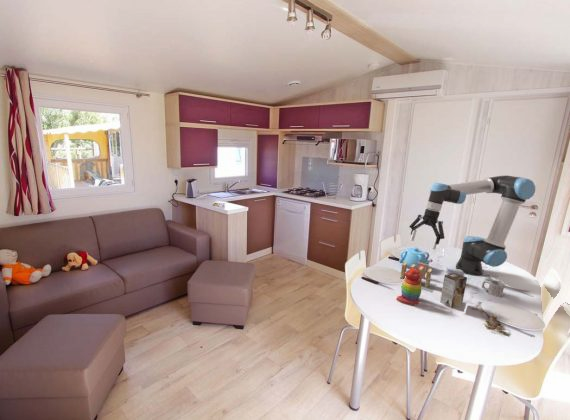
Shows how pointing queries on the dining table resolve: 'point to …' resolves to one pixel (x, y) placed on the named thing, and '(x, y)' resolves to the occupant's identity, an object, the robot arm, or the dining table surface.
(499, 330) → the frog figurine
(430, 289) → the domino mat
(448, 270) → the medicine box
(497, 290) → the mug
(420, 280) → the domino
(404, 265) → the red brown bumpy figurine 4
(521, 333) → the dining table surface
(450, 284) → the coffee box
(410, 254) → the decorative pot
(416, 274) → the stacking bear
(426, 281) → the domino
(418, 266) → the domino
